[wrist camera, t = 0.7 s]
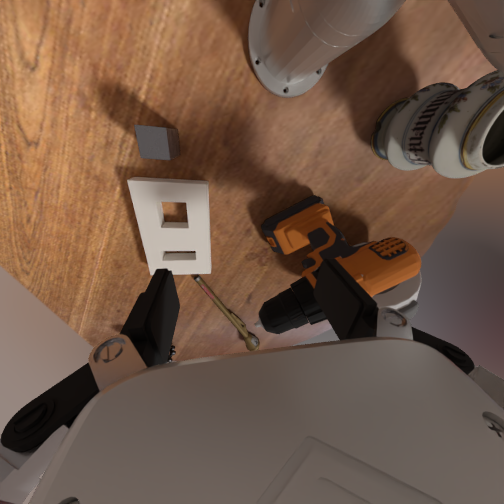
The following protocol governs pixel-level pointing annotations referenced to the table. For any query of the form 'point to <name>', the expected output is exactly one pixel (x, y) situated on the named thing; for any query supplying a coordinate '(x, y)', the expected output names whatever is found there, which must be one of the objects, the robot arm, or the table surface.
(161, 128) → the square peg
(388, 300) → the alarm clock
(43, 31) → the table surface
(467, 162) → the apothecary jar
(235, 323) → the olive long knobbed bar
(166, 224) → the hole board
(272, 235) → the power drill
